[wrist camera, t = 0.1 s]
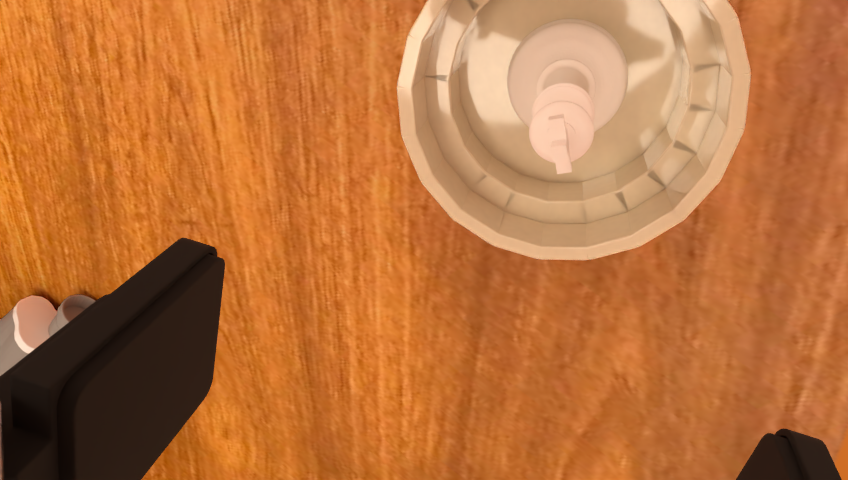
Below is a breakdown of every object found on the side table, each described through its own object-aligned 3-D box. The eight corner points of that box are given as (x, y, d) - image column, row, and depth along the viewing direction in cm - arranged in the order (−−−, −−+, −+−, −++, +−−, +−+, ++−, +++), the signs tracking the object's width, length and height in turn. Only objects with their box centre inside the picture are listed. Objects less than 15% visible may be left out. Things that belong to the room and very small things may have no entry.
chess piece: (518, 145, 30) (492, 240, 21) (497, 32, 28) (458, 84, 19) (634, 126, 29) (658, 219, 20) (620, 6, 27) (638, 49, 18)
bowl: (464, -117, 26) (441, -124, 22) (777, -36, 25) (819, -26, 21) (399, 168, 32) (369, 208, 28) (653, 244, 31) (665, 298, 27)
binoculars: (-7, 333, 42) (-54, 366, 39) (48, 258, 39) (1, 288, 36) (143, 455, 44) (110, 496, 41) (208, 394, 41) (177, 434, 38)
